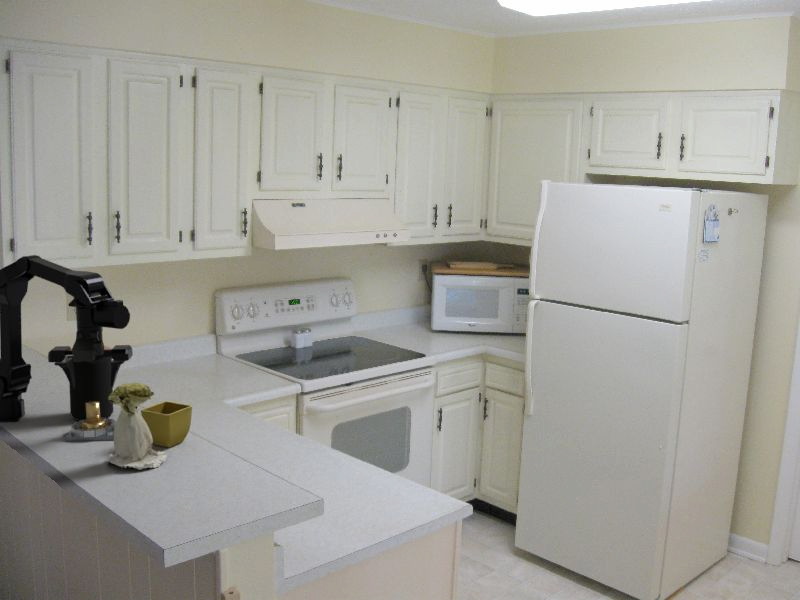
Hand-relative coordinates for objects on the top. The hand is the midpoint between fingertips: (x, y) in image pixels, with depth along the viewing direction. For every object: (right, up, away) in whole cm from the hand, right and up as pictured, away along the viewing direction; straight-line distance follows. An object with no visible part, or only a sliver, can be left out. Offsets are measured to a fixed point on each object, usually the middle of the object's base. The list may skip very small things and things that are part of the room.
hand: (92, 387), depth 209 cm
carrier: (+4, -12, +3) cm, 12 cm away
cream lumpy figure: (+16, -15, -16) cm, 27 cm away
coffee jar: (-6, -9, +16) cm, 19 cm away
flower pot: (+20, -13, -4) cm, 24 cm away
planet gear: (0, -11, +2) cm, 11 cm away
